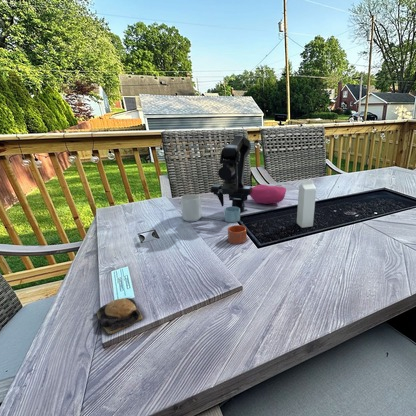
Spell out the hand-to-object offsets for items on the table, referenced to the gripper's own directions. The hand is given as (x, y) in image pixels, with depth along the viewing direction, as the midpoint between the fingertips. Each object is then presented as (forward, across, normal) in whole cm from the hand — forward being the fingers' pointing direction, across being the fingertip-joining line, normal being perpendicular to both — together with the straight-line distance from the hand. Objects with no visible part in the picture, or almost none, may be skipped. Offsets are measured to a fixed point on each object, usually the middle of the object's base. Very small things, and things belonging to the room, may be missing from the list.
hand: (232, 206), depth 126 cm
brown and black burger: (+6, -11, -67) cm, 69 cm away
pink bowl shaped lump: (+7, +14, +30) cm, 34 cm away
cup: (+7, +8, -21) cm, 24 cm away
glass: (+7, 0, 0) cm, 7 cm away
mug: (+7, -20, -1) cm, 21 cm away
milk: (+7, +36, -1) cm, 36 cm away
